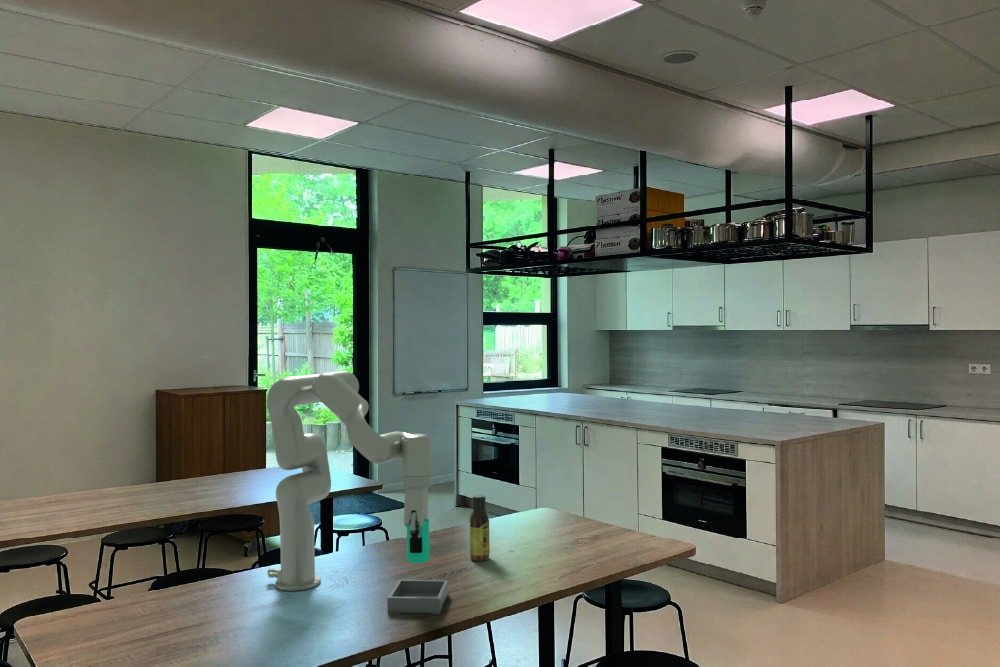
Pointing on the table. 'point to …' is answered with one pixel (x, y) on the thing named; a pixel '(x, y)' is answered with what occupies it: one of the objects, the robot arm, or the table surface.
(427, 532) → the candle
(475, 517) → the sauce bottle
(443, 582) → the box
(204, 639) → the table surface
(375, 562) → the table surface
